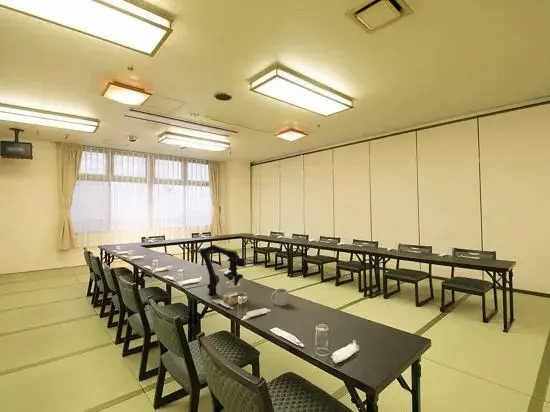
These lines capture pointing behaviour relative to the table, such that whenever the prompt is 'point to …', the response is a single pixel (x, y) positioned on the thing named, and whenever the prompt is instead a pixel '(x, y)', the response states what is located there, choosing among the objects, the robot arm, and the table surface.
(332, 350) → the table surface
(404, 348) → the table surface
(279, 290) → the mug
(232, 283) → the roll
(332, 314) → the table surface
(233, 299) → the holder
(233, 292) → the rest
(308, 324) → the table surface
